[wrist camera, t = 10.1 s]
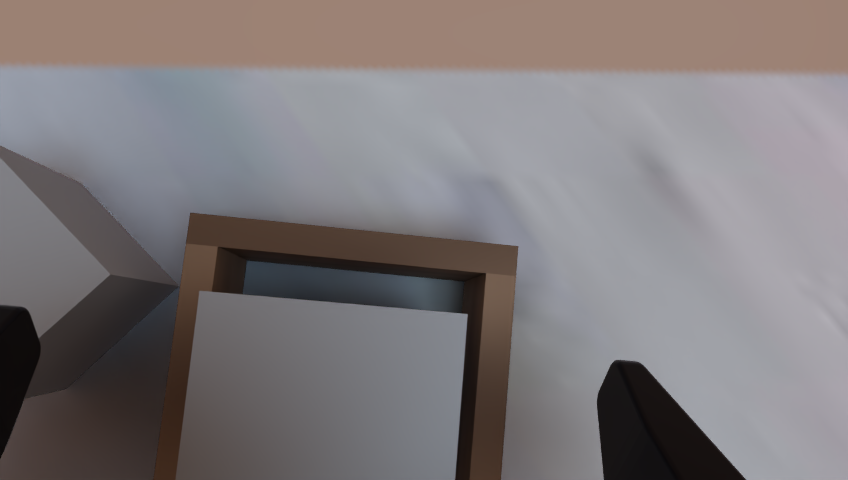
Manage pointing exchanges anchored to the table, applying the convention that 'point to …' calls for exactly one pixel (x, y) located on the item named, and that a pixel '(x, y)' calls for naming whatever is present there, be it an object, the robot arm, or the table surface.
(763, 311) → the table surface
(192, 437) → the light grey rectangular block
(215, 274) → the walnut collar
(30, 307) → the grey block
